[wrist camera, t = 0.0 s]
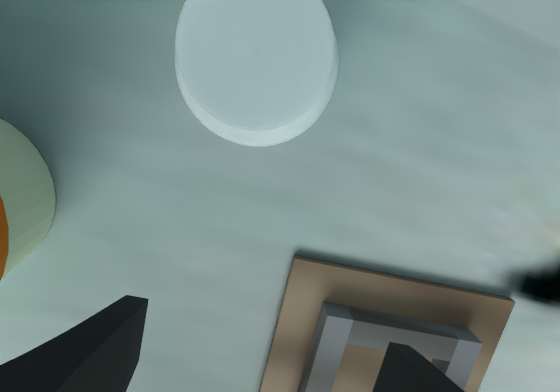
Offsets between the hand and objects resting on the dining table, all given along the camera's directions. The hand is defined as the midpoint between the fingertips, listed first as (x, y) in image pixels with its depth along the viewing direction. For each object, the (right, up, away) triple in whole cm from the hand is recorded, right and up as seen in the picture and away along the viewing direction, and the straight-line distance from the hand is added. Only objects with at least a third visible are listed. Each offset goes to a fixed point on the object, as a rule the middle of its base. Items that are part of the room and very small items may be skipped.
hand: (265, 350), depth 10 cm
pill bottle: (-1, +10, +8) cm, 13 cm away
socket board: (+6, -7, +12) cm, 16 cm away
